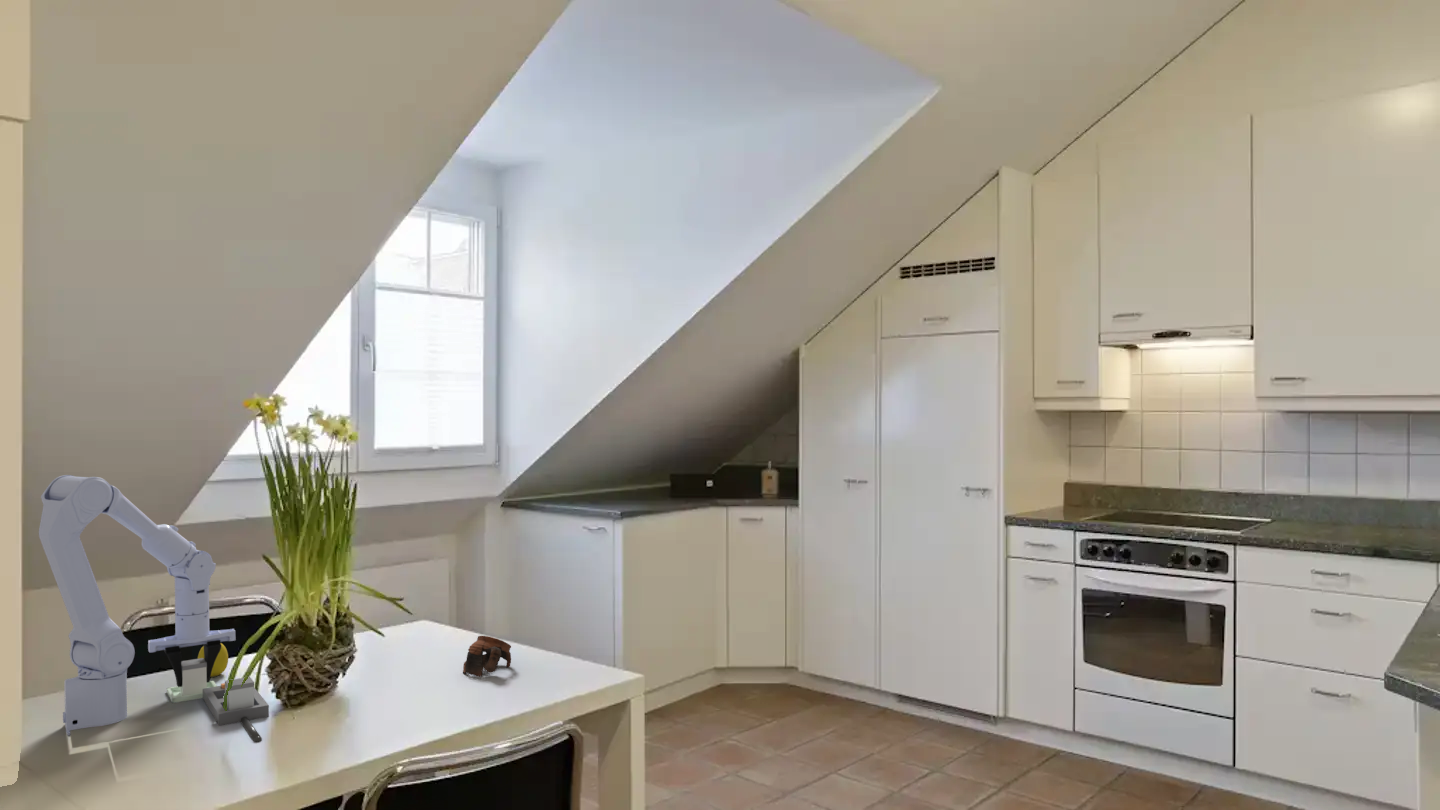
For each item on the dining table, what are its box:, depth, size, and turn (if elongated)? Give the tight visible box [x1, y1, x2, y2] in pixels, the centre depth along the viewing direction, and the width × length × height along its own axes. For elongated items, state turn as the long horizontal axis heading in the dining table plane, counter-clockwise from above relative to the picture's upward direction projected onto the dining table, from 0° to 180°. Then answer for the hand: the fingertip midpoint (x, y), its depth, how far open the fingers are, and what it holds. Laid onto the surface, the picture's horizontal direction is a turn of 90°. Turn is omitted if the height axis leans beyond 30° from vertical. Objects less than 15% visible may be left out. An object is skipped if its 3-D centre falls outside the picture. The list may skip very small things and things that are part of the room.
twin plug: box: [224, 676, 255, 710], centre depth 174 cm, size 4×4×6 cm
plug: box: [180, 658, 207, 696], centre depth 186 cm, size 4×4×6 cm
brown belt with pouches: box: [462, 635, 512, 677], centre depth 202 cm, size 12×10×8 cm
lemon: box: [197, 642, 229, 678], centre depth 197 cm, size 6×6×8 cm
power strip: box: [202, 682, 270, 743], centre depth 173 cm, size 8×31×3 cm, turn 36°
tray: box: [166, 680, 218, 704], centre depth 186 cm, size 8×8×2 cm
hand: (193, 683), depth 186 cm, fingers closed on plug, 4 cm apart
